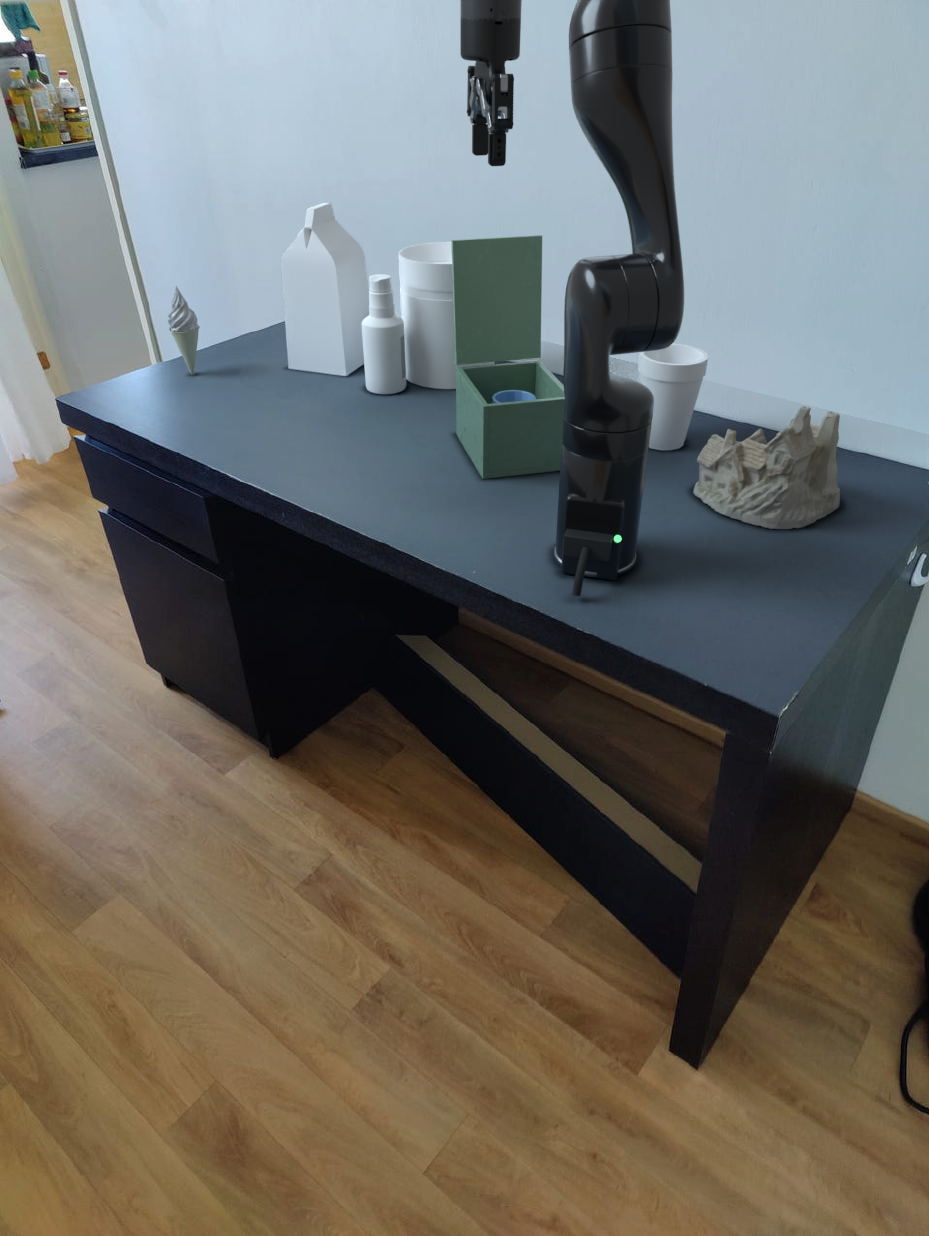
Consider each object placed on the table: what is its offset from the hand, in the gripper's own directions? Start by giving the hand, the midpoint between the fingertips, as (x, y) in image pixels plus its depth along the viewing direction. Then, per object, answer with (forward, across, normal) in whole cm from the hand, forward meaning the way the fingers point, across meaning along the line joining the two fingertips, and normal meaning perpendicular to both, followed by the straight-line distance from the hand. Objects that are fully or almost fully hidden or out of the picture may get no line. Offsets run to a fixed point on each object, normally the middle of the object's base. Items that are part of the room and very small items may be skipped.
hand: (488, 160), depth 119 cm
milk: (+37, -30, -20) cm, 52 cm away
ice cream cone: (+37, -30, -45) cm, 65 cm away
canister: (+36, -19, -1) cm, 41 cm away
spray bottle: (+36, -15, -13) cm, 41 cm away
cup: (+35, +16, 0) cm, 38 cm away
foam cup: (+36, +17, +22) cm, 46 cm away
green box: (+36, +15, 0) cm, 39 cm away
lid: (+17, +7, 0) cm, 18 cm away
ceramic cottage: (+35, +38, +28) cm, 59 cm away
